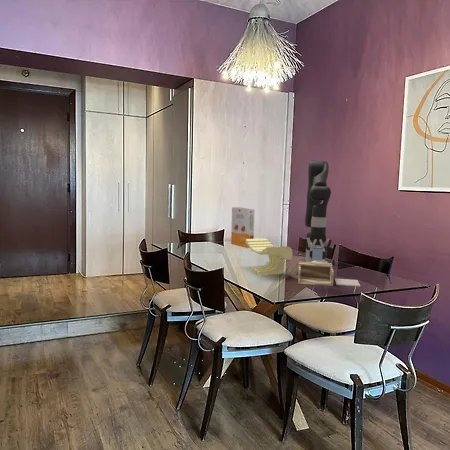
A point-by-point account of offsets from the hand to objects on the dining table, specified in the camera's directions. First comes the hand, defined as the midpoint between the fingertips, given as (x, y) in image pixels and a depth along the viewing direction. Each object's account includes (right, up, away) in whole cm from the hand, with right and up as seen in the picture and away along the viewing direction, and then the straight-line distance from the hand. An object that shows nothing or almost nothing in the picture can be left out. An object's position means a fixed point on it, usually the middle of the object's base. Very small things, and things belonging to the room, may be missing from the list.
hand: (317, 258), depth 217 cm
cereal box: (-34, 0, +123) cm, 127 cm away
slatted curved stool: (-22, -11, +31) cm, 40 cm away
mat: (+18, -14, +10) cm, 25 cm away
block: (0, -1, 0) cm, 1 cm away
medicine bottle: (+8, -12, +32) cm, 35 cm away
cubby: (+2, -13, +13) cm, 19 cm away
